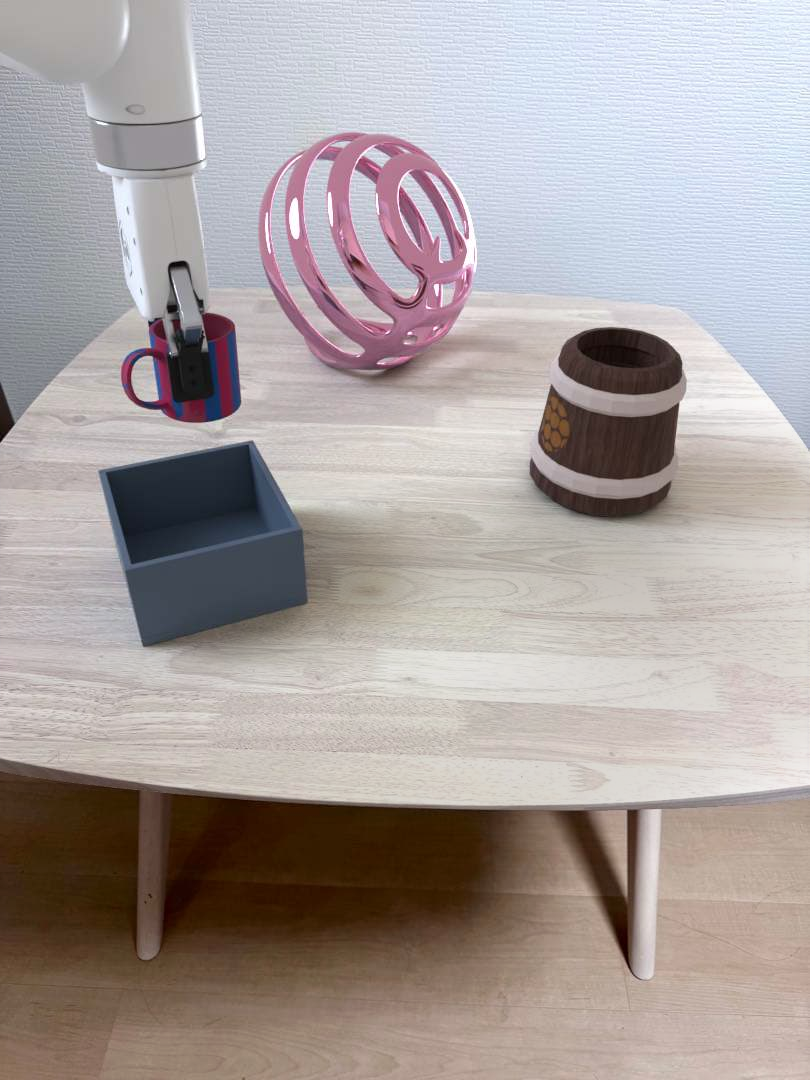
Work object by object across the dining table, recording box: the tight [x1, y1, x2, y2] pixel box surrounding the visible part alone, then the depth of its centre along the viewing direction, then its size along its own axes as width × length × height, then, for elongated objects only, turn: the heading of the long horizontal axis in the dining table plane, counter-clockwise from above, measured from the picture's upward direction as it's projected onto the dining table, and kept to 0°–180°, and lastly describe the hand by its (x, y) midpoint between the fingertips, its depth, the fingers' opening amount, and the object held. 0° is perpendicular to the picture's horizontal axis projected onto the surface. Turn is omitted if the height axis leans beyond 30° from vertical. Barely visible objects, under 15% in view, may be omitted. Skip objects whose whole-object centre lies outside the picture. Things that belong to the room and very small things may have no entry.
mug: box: [529, 326, 688, 518], centre depth 87 cm, size 20×15×15 cm
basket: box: [97, 439, 308, 647], centre depth 74 cm, size 8×14×15 cm
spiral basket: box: [257, 131, 477, 371], centre depth 105 cm, size 28×28×27 cm
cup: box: [120, 312, 242, 424], centre depth 68 cm, size 7×10×7 cm
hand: (183, 376), depth 69 cm, fingers closed on cup, 6 cm apart
